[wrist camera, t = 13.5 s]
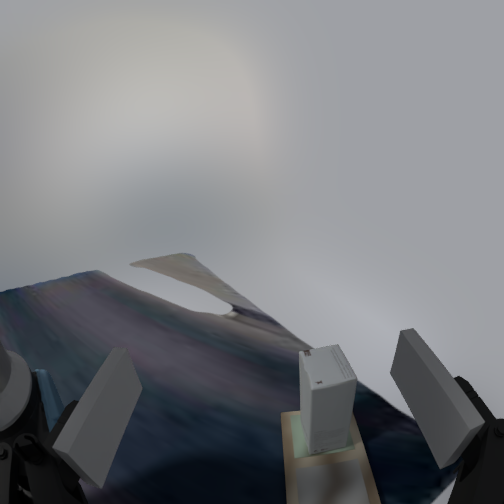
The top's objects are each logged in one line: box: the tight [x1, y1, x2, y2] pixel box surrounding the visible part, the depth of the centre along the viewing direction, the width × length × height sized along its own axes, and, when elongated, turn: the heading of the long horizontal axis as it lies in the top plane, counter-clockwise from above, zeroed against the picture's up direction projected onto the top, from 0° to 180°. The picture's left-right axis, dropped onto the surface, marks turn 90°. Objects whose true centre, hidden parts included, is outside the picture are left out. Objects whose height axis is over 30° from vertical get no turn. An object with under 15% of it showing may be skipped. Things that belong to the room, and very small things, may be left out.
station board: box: [281, 411, 381, 504], centre depth 31 cm, size 12×22×1 cm, turn 179°
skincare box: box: [299, 345, 357, 454], centre depth 34 cm, size 8×6×15 cm
